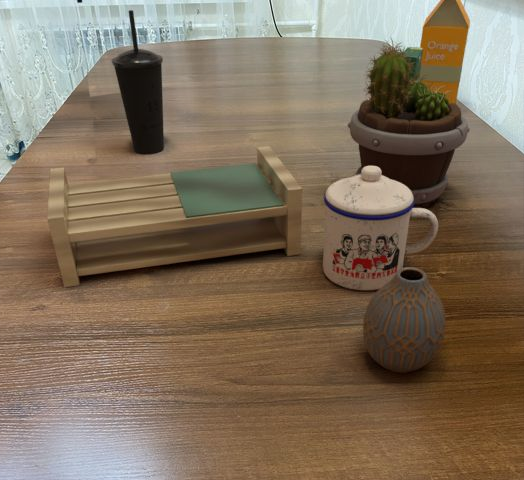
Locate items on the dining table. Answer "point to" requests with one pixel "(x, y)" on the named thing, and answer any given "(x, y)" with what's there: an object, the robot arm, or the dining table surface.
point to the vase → (404, 322)
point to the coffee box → (414, 60)
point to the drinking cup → (141, 94)
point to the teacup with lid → (369, 229)
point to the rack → (173, 217)
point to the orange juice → (444, 47)
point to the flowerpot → (407, 128)
